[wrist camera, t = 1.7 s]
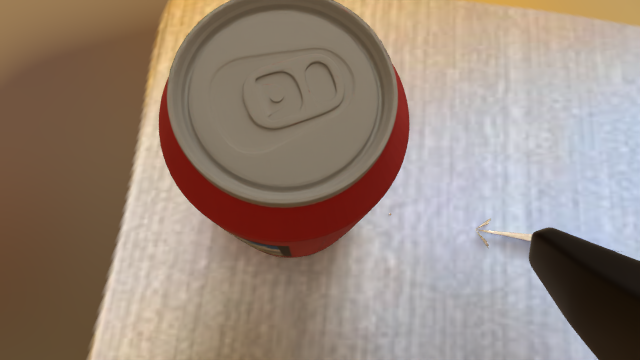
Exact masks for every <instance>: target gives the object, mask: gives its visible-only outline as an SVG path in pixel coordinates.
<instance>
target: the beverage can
mask: <svg viewBox="0 0 640 360" xmlns="http://www.w3.org/2000/svg"><path fill="white" fill-rule="evenodd" d="M159 136H160V143H161V148H162V152H163V156H164V159H165V162H166V165H167V167H168V169H169V171H170V174H171V176H172V178H173V179H174V181H175V183H176V184H177V186H178V187H179V189H180V190H181V192H182V193H183V194H184V196H185V197H186V198H187V199H188V200H189V201H190V203H191V204H192V205H194V206H195V207H196V208H197V209H198V210H199V211H200V212H201V213H202V214H204V215H205V216H206V217H207V218H209V219H210V220H212V221H213V222H214V223H216V224H217V225H219V226H220V227H221V228H223V229H224V230H226V231H227V232H229V233H230V234H232V235H234V236H235V237H237V238H238V239H240V240H241V241H243V242H245V243H246V244H248V245H250V246H252V247H254V248H256V249H258V250H260V251H262V252H265V253H267V254H270V255H274V256H279V257H302V256H307V255H311V254H314V253H316V252H319V251H321V250H323V249H325V248H327V247H328V246H330V245H331V244H333V243H334V242H335V241H337V240H338V239H339V238H341V237H342V236H343V235H344V234H346V233H347V232H348V231H349V230H350V229H351V228H352V227H353V226H354V225H356V224H357V223H358V222H359V221H360V220H361V219H362V218H363V217H364V216H365V215H366V214H367V213H368V212H369V211H370V210H371V209H372V208H373V207H374V206H375V205H376V204H377V203H378V202H379V201H380V199H381V198H382V197H383V196H384V195H385V193H386V192H387V191H388V189H389V188H390V186H391V185H392V183H393V181H394V180H395V178H396V176H397V174H398V172H399V170H400V168H401V165H402V162H403V160H404V156H405V153H406V149H407V144H408V137H409V111H408V104H407V99H406V95H405V92H404V88H403V85H402V83H401V80H400V77H399V75H398V73H397V71H396V69H395V67H394V66H393V64H392V62H391V59H390V57H389V55H388V53H387V51H386V49H385V47H384V45H383V44H382V42H381V40H380V39H379V38H378V36H377V35H376V34H375V32H374V31H373V30H372V29H371V28H370V26H369V25H368V24H367V23H365V22H364V21H363V20H362V19H361V18H360V17H359V16H358V15H356V14H355V13H354V12H352V11H351V10H349V9H348V8H346V7H345V6H343V5H341V4H340V3H337V2H335V1H333V0H231V1H229V2H227V3H225V4H223V5H221V6H219V7H218V8H216V9H215V10H213V11H212V12H210V13H209V14H208V15H206V16H205V17H204V18H203V19H202V20H201V21H200V22H199V23H198V24H197V25H196V26H195V27H194V28H193V29H192V30H191V31H190V33H189V34H188V35H187V36H186V38H185V39H184V41H183V43H182V44H181V46H180V48H179V50H178V51H177V53H176V56H175V58H174V61H173V64H172V66H171V69H170V74H169V77H168V79H167V82H166V85H165V88H164V91H163V95H162V99H161V104H160V112H159Z"/></svg>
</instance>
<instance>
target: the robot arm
mask: <svg viewBox="0 0 640 360" xmlns="http://www.w3.org/2000/svg"><path fill="white" fill-rule="evenodd" d="M529 261H530V264H531V267H532V268H533V270H534V271H535V273H536V274H537V276H538V277H539V279H540V280H541V282H542V283H543V285H544V286H545V288H546V289H547V291H548V292H549V294H550V295H551V297H552V298H553V300H554V302H555V303H556V305H557V306H558V308H559V309H560V311H561V312H562V314H563V315H564V316H565V318H566V319H567V321H568V322H569V324H570V325H571V326H572V327H573V329H574V330H575V331H576V333H577V334H578V335H579V336H580V337H581V339H582V340H583V341H584V342H585V344H586V345H587V346H588V347H589V348H590V350H591V351H592V352H593V353H594V355H595V356H596V357H597V358H598V359H599V360H640V261H638V260H635V259H633V258H630V257H628V256H625V255H622V254H620V253H617V252H615V251H612V250H609V249H607V248H604V247H602V246H599V245H596V244H594V243H591V242H589V241H586V240H583V239H581V238H578V237H576V236H573V235H570V234H568V233H565V232H563V231H560V230H557V229H555V228H545V229H542V230H539V231H536V232H534V233H533V234H532V237H531V244H530V252H529Z"/></svg>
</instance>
